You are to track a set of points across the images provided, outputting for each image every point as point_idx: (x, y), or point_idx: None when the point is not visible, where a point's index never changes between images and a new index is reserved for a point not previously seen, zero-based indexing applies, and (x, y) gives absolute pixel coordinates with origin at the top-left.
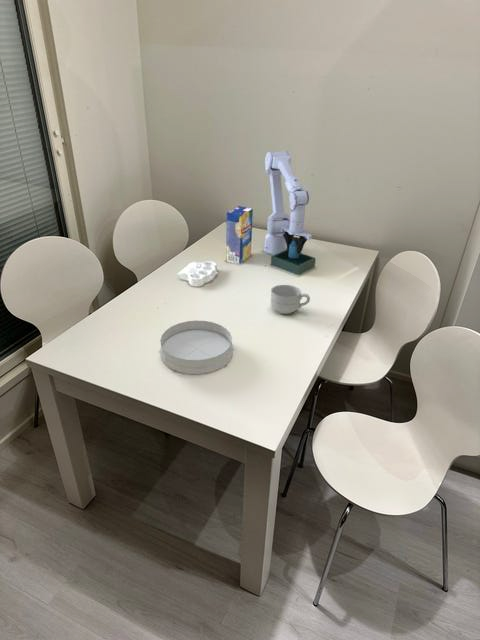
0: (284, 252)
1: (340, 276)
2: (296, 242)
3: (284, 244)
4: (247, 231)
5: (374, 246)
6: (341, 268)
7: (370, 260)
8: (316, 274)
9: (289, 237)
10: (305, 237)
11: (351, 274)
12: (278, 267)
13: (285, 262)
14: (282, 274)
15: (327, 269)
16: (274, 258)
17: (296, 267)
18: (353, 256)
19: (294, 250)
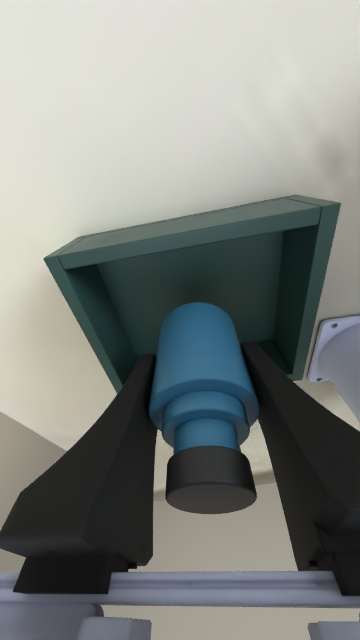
0: (295, 339)
1: (21, 376)
2: (174, 444)
3: (349, 395)
4: None
5: (159, 500)
6: (83, 411)
7: None
8: (68, 325)
9: (295, 479)
10: (13, 595)
11: (28, 405)
12: (231, 208)
13: (174, 230)
14: (148, 164)
15: (95, 380)
16: (296, 208)
17: (74, 248)
18: None
19: (165, 356)
